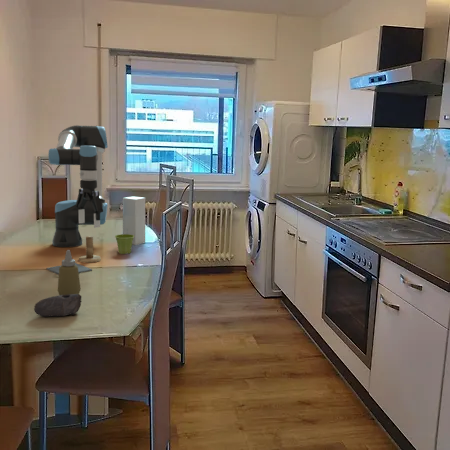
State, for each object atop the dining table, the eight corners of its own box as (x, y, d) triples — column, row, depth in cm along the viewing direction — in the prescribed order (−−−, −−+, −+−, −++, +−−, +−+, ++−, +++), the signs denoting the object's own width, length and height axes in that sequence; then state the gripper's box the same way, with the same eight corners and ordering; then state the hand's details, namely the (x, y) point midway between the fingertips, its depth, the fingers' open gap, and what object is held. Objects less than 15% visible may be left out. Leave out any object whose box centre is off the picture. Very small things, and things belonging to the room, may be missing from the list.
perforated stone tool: (33, 320, 164) (33, 299, 163) (34, 314, 169) (34, 294, 168) (82, 316, 168) (81, 296, 167) (81, 311, 173) (81, 291, 172)
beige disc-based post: (74, 259, 241) (74, 236, 239) (93, 256, 248) (93, 233, 246) (85, 263, 234) (85, 240, 232) (104, 260, 241) (104, 237, 239)
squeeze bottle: (60, 295, 189) (59, 247, 186) (82, 295, 190) (81, 248, 186) (55, 302, 181) (53, 253, 178) (78, 302, 182) (77, 253, 178)
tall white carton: (122, 243, 278) (122, 197, 274) (132, 240, 286) (132, 196, 281) (135, 245, 274) (135, 199, 270) (145, 242, 282) (145, 197, 277)
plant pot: (130, 255, 252) (130, 238, 250) (112, 254, 253) (112, 237, 252) (137, 251, 261) (137, 234, 259) (119, 250, 262) (119, 233, 261)
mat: (46, 269, 223) (46, 267, 222) (75, 264, 232) (75, 262, 232) (62, 276, 213) (62, 274, 213) (91, 270, 223) (91, 269, 223)
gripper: (67, 177, 240) (68, 222, 244) (95, 182, 223) (96, 229, 226) (81, 177, 245) (82, 220, 249) (110, 181, 228) (111, 228, 232)
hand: (89, 225), depth 238 cm, fingers open, 13 cm apart
